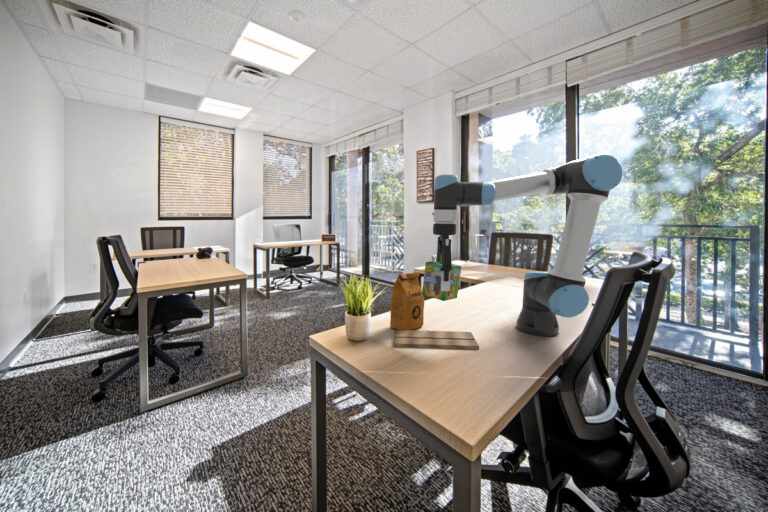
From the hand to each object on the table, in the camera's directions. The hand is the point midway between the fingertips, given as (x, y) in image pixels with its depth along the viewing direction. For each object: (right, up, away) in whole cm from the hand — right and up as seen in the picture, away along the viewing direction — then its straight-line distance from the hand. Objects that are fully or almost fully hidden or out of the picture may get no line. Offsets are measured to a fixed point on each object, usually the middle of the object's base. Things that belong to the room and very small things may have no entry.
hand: (442, 286), depth 108 cm
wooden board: (-2, -20, +3) cm, 20 cm away
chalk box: (-1, -4, +1) cm, 4 cm away
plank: (-2, -19, +6) cm, 20 cm away
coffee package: (-11, -18, +16) cm, 27 cm away
